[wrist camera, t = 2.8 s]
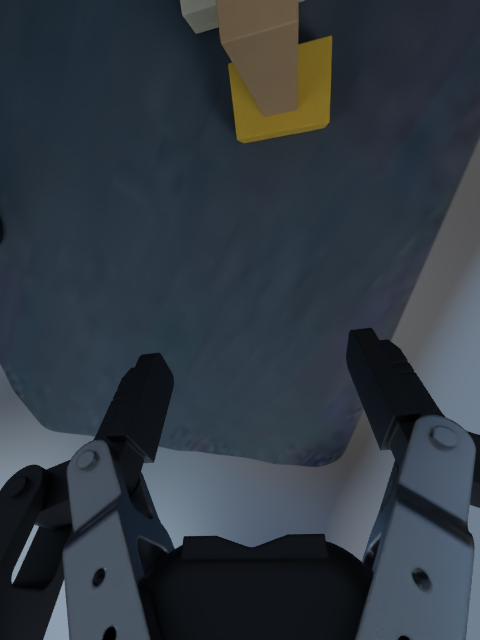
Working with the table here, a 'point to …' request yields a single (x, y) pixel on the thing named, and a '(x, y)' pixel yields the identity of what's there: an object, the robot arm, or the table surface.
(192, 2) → the tray
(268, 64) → the peg stand
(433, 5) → the table surface
